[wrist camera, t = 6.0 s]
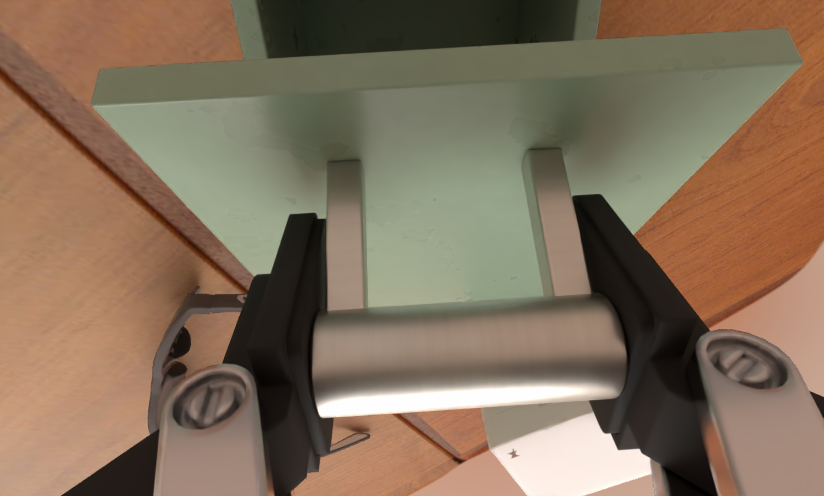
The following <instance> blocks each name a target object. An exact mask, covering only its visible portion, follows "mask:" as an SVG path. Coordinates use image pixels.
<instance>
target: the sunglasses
mask: <svg viewBox="0 0 824 496" xmlns="http://www.w3.org/2000/svg"><path fill="white" fill-rule="evenodd" d="M200 288H201V287H200V286H198V285H197V286H196V287H195V288H194V290H193V291H192V292H191V293H188V295H187V296H186V298H185V300H184V302H183V303H182V304H181V306H180V307H179V308H178V310H177V312H176V313H175V315H174V317H173V319H172V321H171V323H170V325H169V327H168V329H167V331H166V333H165V335H164V337H163V340H162V342H161V344H160V346H159V348H158V350H157V352H156V355H155V358H154V362H153V371H152V382H151V394H150V401H149V409H148V429H149V433H150V435H151V434H152V433H153V432H155V431H156V430H158V429H159V428H160V422H161V412H162V409H163V405H164V402H165V400H166V398H167V397H168V395H169V394H170V392H171V391H172V389H173V388H174V387H175V386H176V385H178V384H179V383H180V382H181V381H182V380H183V379H184V378H185V375H184V374H185V373H186V371H187V368H186V366H185V365H184V364H182V363H180V362H177V361H174V360H176V359H178V358H180V357H182V356H184V355H185V354H186V353H187V352H188V351H189V350H190V346H191V338H190V335H189V332H188V330H187V329H186V328H184V327H183V326H184V324H185V322H186V321H187V320H188V319H189V318H190V317H191V316H192V315H193V314H210V312H211V313H221V312H241V310H242V308H243V305H244V302H245V299H246V297H247V294H215V295H209V294H198V293H199V291H200ZM172 361H174V362H172ZM171 362H172V363H171ZM170 363H171V364H170ZM169 364H170V365H169ZM168 365H169V366H168ZM369 438H370V435H369V434H367V433H355V434H353V435H351V436H349V437H347V438H345V439H343V440H341V441H340V442H338V443H336V444H333V445H331V448H330V452H329V454H321V455H320V457H324V456H327V455H330V454H333V453H335V452H338V451H341V450H343V449H346V448H348V447H350V446H353V445H355V444H358V443H360V442H362V441H365V440H367V439H369Z"/></svg>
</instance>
